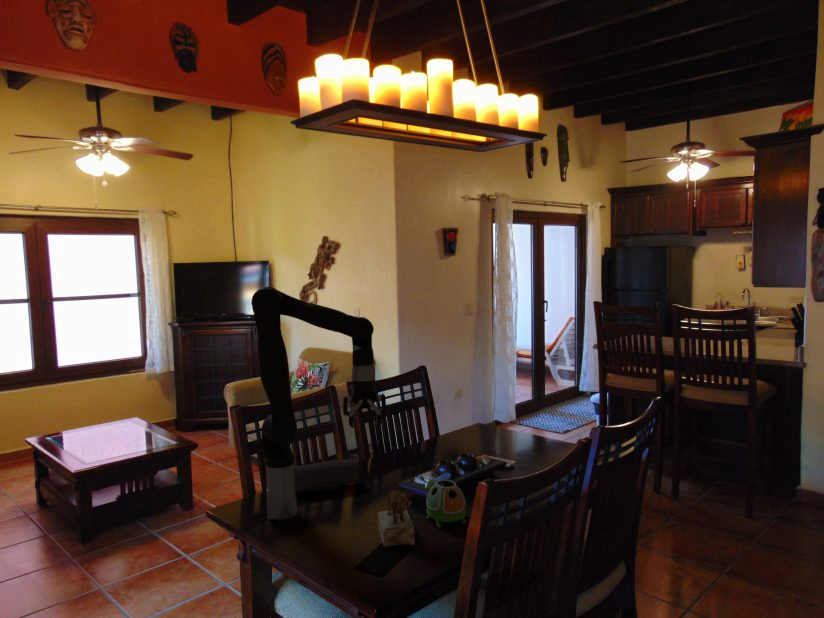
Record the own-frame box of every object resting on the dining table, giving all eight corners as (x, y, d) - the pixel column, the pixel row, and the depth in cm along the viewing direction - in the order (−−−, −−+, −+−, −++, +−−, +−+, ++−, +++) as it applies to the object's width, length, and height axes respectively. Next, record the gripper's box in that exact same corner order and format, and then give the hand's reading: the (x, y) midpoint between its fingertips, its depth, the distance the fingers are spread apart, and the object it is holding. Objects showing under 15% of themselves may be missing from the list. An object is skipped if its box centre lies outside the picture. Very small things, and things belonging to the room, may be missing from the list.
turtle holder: (446, 503, 198) (445, 468, 197) (473, 524, 182) (473, 486, 181) (413, 510, 193) (412, 475, 192) (438, 532, 177) (437, 494, 176)
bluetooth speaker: (353, 480, 221) (353, 454, 221) (359, 489, 213) (358, 462, 212) (293, 488, 215) (292, 462, 214) (296, 498, 206) (295, 470, 205)
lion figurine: (414, 525, 170) (413, 495, 169) (397, 528, 168) (396, 498, 167) (395, 506, 183) (394, 478, 182) (379, 509, 181) (378, 481, 180)
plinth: (383, 548, 168) (383, 529, 167) (378, 528, 180) (377, 510, 180) (414, 544, 169) (414, 526, 169) (406, 525, 182) (406, 507, 182)
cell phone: (413, 547, 168) (412, 544, 168) (382, 578, 152) (382, 574, 152) (386, 541, 172) (386, 538, 172) (353, 570, 156) (353, 567, 156)
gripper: (342, 381, 187) (344, 431, 188) (386, 378, 190) (388, 427, 191) (341, 377, 194) (342, 424, 196) (383, 374, 197) (384, 421, 198)
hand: (365, 426), depth 193 cm, fingers open, 8 cm apart
